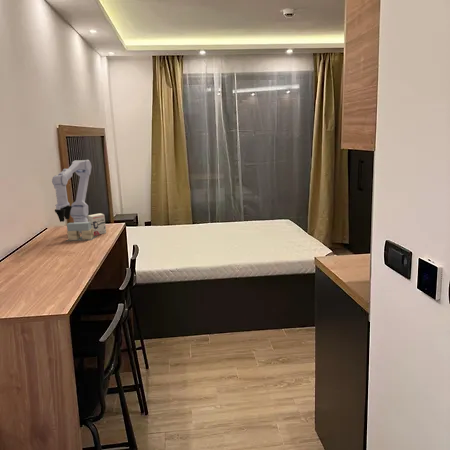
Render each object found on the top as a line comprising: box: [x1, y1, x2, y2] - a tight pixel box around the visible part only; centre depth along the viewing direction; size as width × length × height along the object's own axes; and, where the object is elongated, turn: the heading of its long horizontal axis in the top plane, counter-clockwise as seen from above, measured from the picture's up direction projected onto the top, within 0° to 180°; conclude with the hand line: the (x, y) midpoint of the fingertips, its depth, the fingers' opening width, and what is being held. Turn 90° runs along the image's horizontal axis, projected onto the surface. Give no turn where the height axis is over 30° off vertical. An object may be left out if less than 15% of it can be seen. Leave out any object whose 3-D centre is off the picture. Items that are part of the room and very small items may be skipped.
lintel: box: [66, 221, 91, 232], centre depth 242 cm, size 12×4×4 cm, turn 88°
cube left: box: [66, 231, 81, 240], centre depth 243 cm, size 5×5×5 cm
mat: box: [65, 235, 98, 242], centre depth 244 cm, size 11×15×1 cm
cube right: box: [81, 228, 95, 240], centre depth 242 cm, size 5×5×5 cm
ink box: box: [87, 212, 107, 236], centre depth 253 cm, size 8×5×12 cm, turn 134°
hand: (64, 220), depth 246 cm, fingers open, 7 cm apart
